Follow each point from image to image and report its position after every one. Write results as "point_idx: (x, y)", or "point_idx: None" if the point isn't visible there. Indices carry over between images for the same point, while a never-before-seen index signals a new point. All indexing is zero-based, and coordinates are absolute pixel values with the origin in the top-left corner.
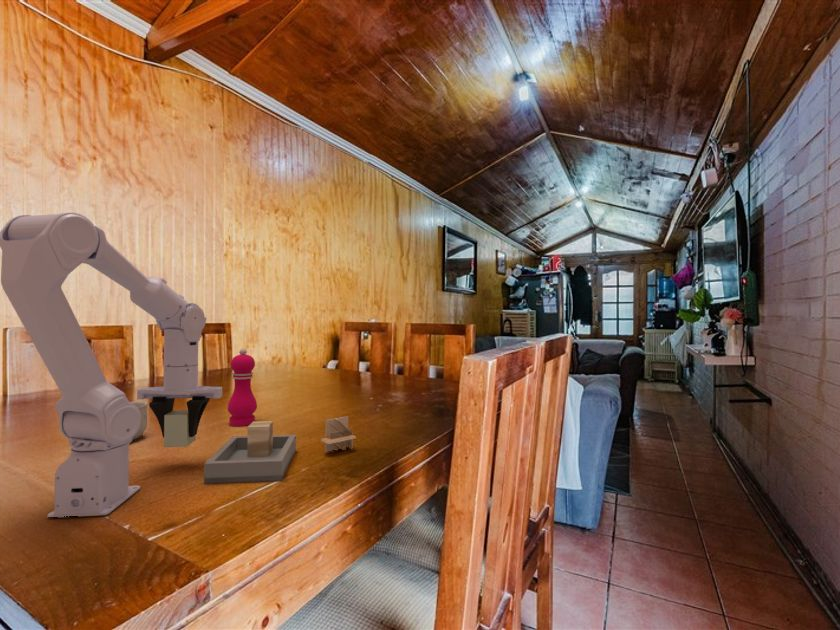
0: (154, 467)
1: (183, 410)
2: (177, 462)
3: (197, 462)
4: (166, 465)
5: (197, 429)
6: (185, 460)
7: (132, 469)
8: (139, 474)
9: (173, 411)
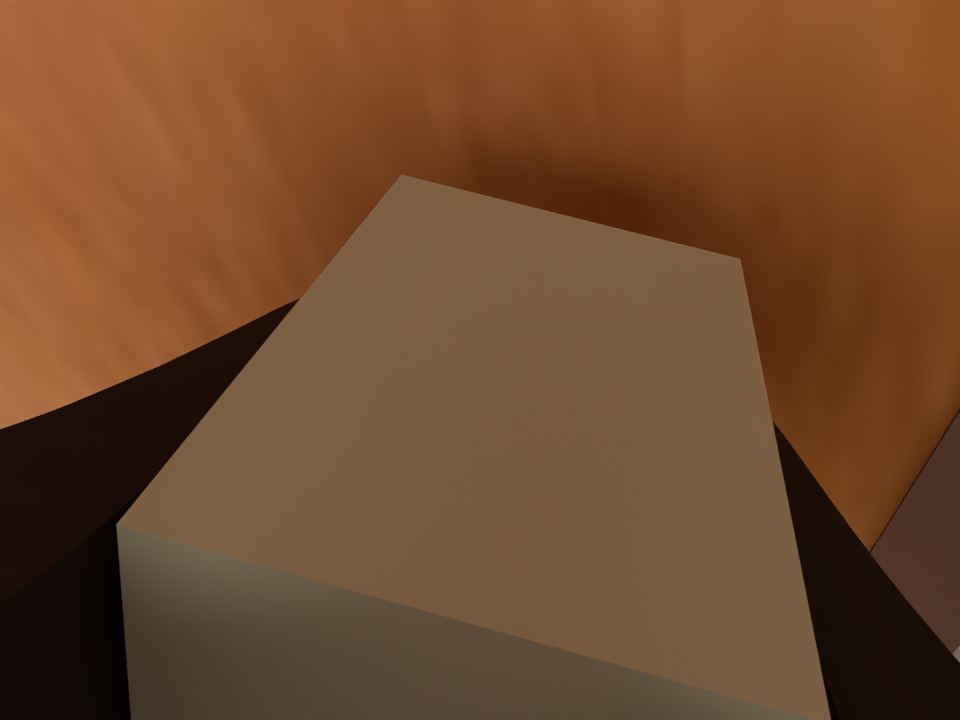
0: (314, 157)
1: (432, 650)
2: (515, 64)
3: (747, 146)
4: (417, 133)
5: (801, 464)
6: (599, 13)
7: (125, 144)
8: (253, 306)
9: (176, 652)
